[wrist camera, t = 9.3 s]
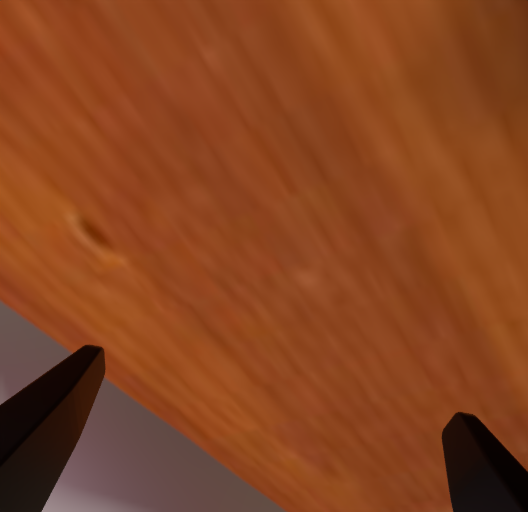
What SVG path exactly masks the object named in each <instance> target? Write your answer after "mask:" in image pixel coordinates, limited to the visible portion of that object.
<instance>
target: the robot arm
mask: <svg viewBox="0 0 528 512" xmlns="http://www.w3.org/2000/svg"><path fill="white" fill-rule="evenodd" d="M104 375H105V356H104V349H103V348H102V347H100V346H94V345H85V346H83V347H81V348H80V349H79V350H77V351H76V352H74V353H73V354H72V355H70V356H69V357H67V358H66V359H64V360H63V361H62V362H60V363H59V364H57V365H56V366H55V367H53V368H52V369H51V370H49V371H47V372H46V373H45V374H43V375H42V376H40V377H39V378H38V379H36V380H35V381H33V382H32V383H31V384H29V385H28V386H27V387H25V388H23V389H22V390H21V391H19V392H18V393H16V394H15V395H14V396H12V397H11V398H9V399H8V400H7V401H5V402H4V403H3V404H1V405H0V512H41V511H42V510H43V508H44V506H45V504H46V502H47V500H48V498H49V496H50V494H51V492H52V490H53V489H54V487H55V485H56V483H57V481H58V479H59V477H60V475H61V473H62V471H63V469H64V468H65V466H66V464H67V462H68V460H69V458H70V456H71V454H72V452H73V450H74V448H75V446H76V444H77V442H78V440H79V438H80V436H81V434H82V431H83V429H84V426H85V424H86V421H87V419H88V416H89V413H90V411H91V408H92V406H93V403H94V401H95V398H96V396H97V393H98V391H99V388H100V386H101V383H102V381H103V378H104ZM442 444H443V451H444V458H445V465H446V471H447V478H448V485H449V492H450V498H451V503H452V508H453V512H528V472H527V471H526V469H525V468H524V467H523V466H522V465H521V464H520V463H519V462H518V461H517V460H516V459H515V458H514V456H513V455H512V454H511V453H510V452H509V451H508V450H507V449H506V448H505V447H504V446H503V445H502V444H501V442H500V441H499V440H498V439H497V438H496V437H495V436H494V435H493V434H492V433H491V432H490V431H489V430H488V428H487V427H486V426H485V425H484V424H483V423H482V422H481V421H480V420H479V419H478V418H477V417H476V416H475V415H473V414H469V413H463V412H457V413H456V414H455V415H454V416H453V417H452V419H451V420H450V421H449V423H448V424H447V425H446V427H445V428H444V429H443V432H442Z"/></svg>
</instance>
